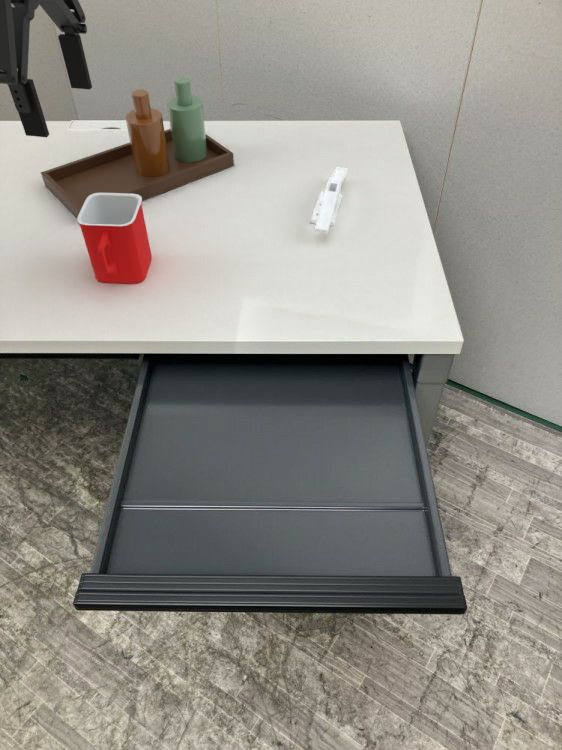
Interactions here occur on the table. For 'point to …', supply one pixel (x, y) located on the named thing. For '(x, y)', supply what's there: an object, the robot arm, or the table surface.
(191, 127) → the sage bottle
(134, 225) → the mug
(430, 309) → the table surface
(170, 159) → the tray
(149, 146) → the amber bottle
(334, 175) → the white long narrow piece
